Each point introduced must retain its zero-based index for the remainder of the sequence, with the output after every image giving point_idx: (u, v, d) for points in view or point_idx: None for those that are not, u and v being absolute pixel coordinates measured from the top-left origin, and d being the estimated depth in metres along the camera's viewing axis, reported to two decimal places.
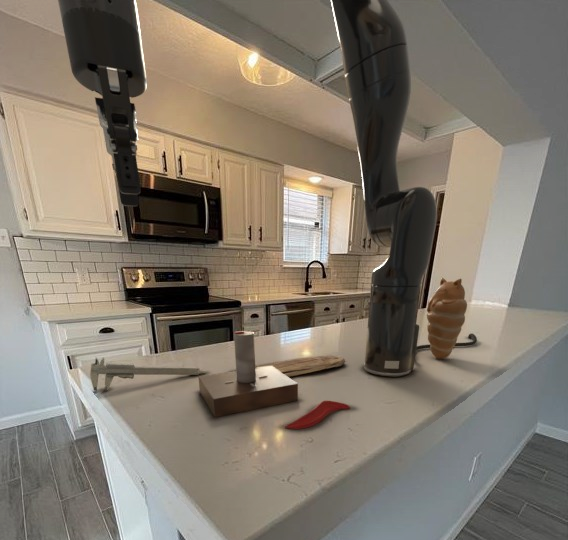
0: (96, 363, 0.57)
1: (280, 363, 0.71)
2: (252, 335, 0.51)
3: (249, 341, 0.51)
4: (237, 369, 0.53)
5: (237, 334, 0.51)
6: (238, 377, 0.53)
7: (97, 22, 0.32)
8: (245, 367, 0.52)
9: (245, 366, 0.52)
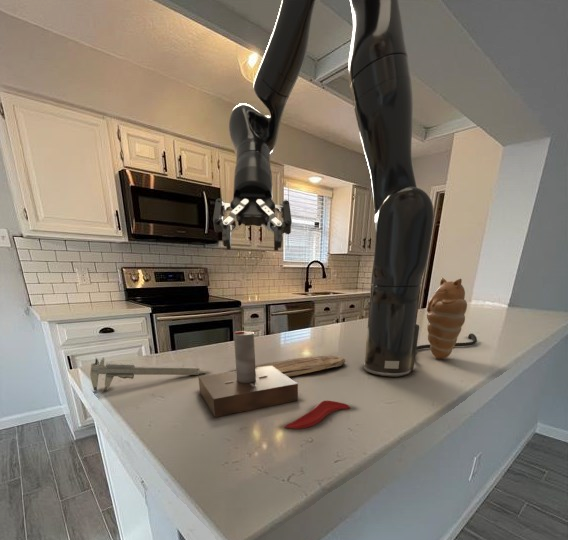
0: (96, 363, 0.57)
1: (280, 363, 0.71)
2: (252, 335, 0.51)
3: (249, 341, 0.51)
4: (237, 369, 0.53)
5: (237, 334, 0.51)
6: (238, 377, 0.53)
7: None
8: (245, 367, 0.52)
9: (245, 366, 0.52)
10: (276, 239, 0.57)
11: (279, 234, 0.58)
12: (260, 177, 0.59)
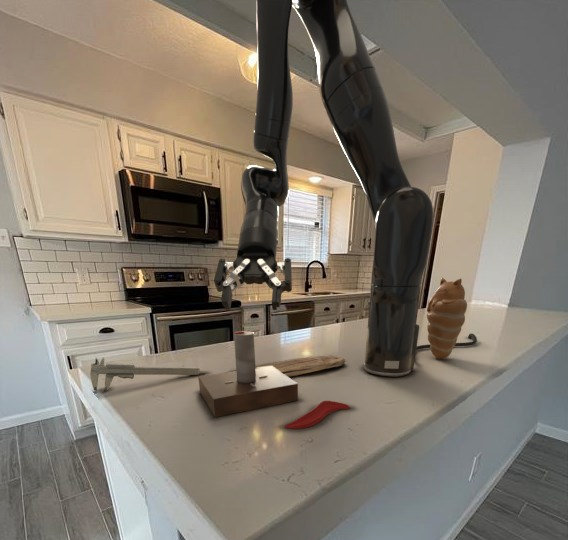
0: (96, 363, 0.57)
1: (280, 363, 0.71)
2: (252, 335, 0.51)
3: (249, 341, 0.51)
4: (237, 369, 0.53)
5: (237, 334, 0.51)
6: (238, 377, 0.53)
7: None
8: (245, 367, 0.52)
9: (245, 366, 0.52)
10: (273, 300, 0.56)
11: (277, 294, 0.57)
12: (262, 237, 0.60)
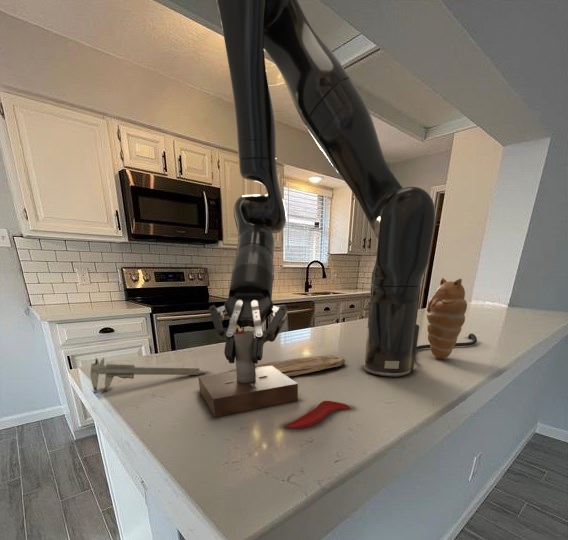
0: (96, 363, 0.57)
1: (280, 363, 0.71)
2: (252, 335, 0.51)
3: (249, 341, 0.51)
4: (237, 369, 0.53)
5: (237, 334, 0.51)
6: (238, 377, 0.53)
7: None
8: (244, 367, 0.52)
9: (245, 366, 0.52)
10: (254, 354, 0.50)
11: (259, 346, 0.51)
12: (256, 276, 0.54)
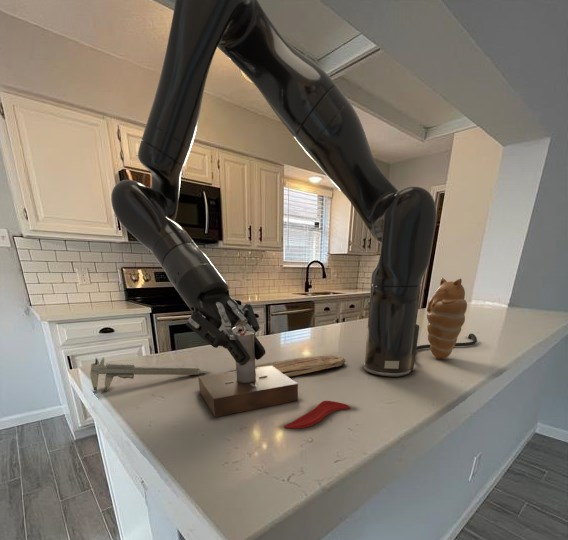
0: (96, 363, 0.57)
1: (280, 363, 0.71)
2: None
3: None
4: (245, 370, 0.52)
5: (245, 334, 0.51)
6: (247, 378, 0.53)
7: (181, 288, 0.52)
8: (253, 366, 0.53)
9: (254, 364, 0.53)
10: (262, 349, 0.53)
11: None
12: (220, 276, 0.53)
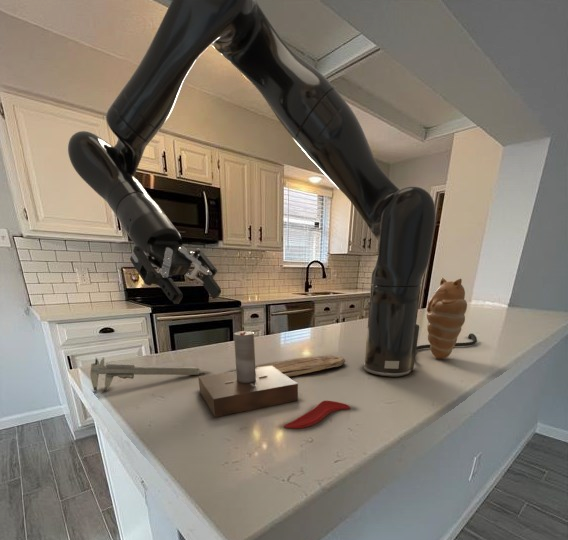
0: (96, 363, 0.57)
1: (280, 363, 0.71)
2: None
3: None
4: (245, 370, 0.52)
5: (245, 334, 0.51)
6: (247, 378, 0.53)
7: (133, 235, 0.55)
8: (253, 366, 0.53)
9: (254, 364, 0.53)
10: (218, 288, 0.58)
11: (214, 283, 0.59)
12: (172, 225, 0.56)
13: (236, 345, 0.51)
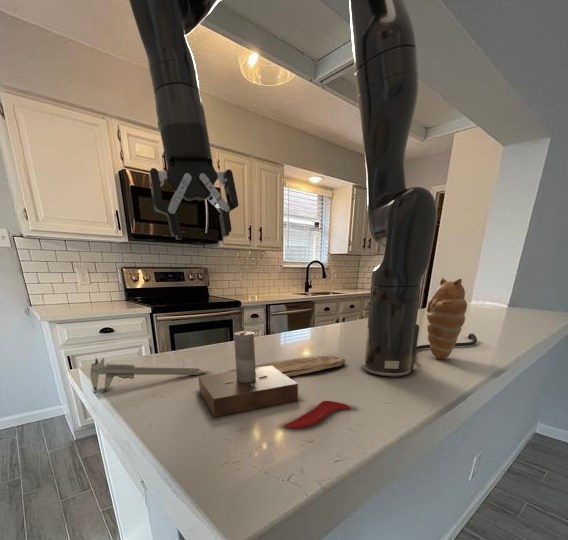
0: (96, 363, 0.57)
1: (280, 363, 0.71)
2: None
3: None
4: (245, 370, 0.52)
5: (245, 334, 0.51)
6: (247, 378, 0.53)
7: None
8: (253, 366, 0.53)
9: (254, 364, 0.53)
10: (227, 231, 0.58)
11: (228, 221, 0.58)
12: (201, 143, 0.51)
13: (236, 345, 0.51)
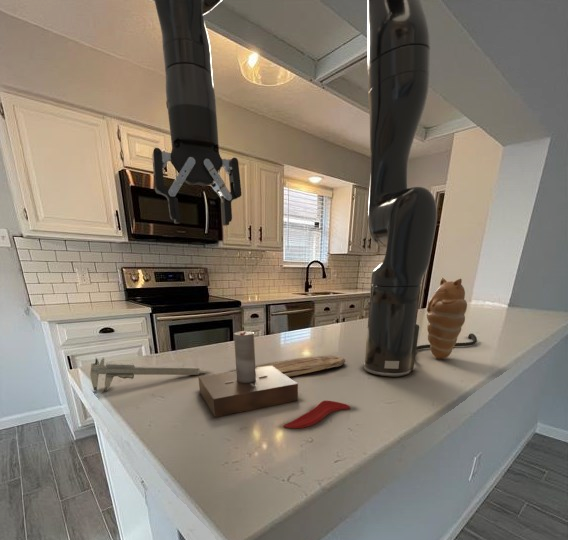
0: (96, 363, 0.57)
1: (280, 363, 0.71)
2: None
3: None
4: (245, 370, 0.52)
5: (245, 334, 0.51)
6: (247, 378, 0.53)
7: (169, 119, 0.51)
8: (253, 366, 0.53)
9: (254, 364, 0.53)
10: (227, 220, 0.57)
11: (229, 210, 0.57)
12: (208, 127, 0.50)
13: (236, 345, 0.51)
